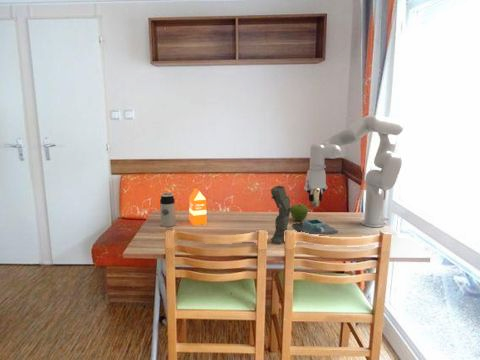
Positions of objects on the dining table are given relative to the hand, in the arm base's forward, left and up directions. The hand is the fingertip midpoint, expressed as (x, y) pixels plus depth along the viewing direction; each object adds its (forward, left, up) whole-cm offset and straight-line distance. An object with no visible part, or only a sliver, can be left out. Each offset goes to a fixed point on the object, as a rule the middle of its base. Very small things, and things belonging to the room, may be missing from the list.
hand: (315, 200), depth 195 cm
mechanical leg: (+25, +10, -17) cm, 32 cm away
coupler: (0, 0, -3) cm, 3 cm away
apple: (0, -18, -17) cm, 25 cm away
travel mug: (+75, -33, -17) cm, 83 cm away
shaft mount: (0, 0, -16) cm, 16 cm away
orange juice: (+58, -32, -17) cm, 68 cm away
